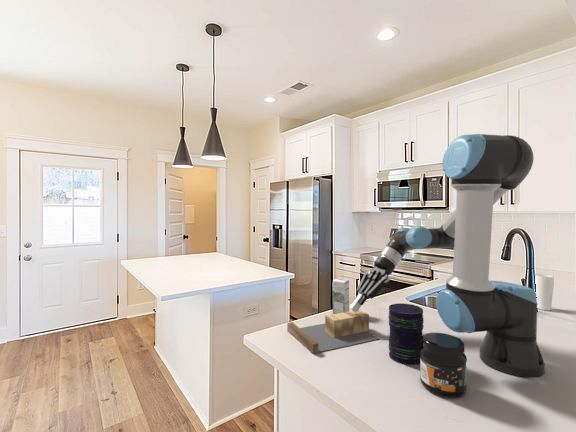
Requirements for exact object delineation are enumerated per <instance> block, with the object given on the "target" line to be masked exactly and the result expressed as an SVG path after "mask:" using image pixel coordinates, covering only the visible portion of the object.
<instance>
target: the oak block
mask: <svg viewBox="0 0 576 432" xmlns="http://www.w3.org/2000/svg"><path fill="white" fill-rule="evenodd" d="M324 324H325V332H327V333H328V334H329V335H331V336H332V337H334V338H336V337H341V336H346V335H350V334H355V333H360V332H365V331H367V332H369V331H370V314H369V313H367V312H365V311H362V310H361V309H359V310H358V311H357V313H355V312H354V311H353V310H349V311H348V312H342V313H331V314H325V316H324Z"/></svg>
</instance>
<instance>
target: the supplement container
mask: <svg viewBox="0 0 576 432" xmlns="http://www.w3.org/2000/svg"><path fill="white" fill-rule="evenodd" d="M422 345H423V346H421V348H420V364H419V365H420V367H419V368H420V370H419V373H420V375H419V380H420V383H421V385H422V386H423V387H424V388H425V389H426V390H428V391H429V392H431V393H433V394H435V395H438V396H441V397H445V398H457V397H461V396H463V395H464V394H466V392H467V361H468V358H467V356H466V353H465V341H463V340H462V339H460V337H459V338H458V337H457V336H454V335H452V334H448V333H444V332H428V333H427V332H426V333H424V334H422Z"/></svg>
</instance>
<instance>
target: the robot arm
mask: <svg viewBox="0 0 576 432" xmlns="http://www.w3.org/2000/svg"><path fill="white" fill-rule="evenodd" d="M534 158H535V157H534V152H533V149H532V147H531V145H530V144H529V143H528V142H527V141H526V140H525V139H523V138H521V137H519V136H515V135H510V134H509V135H501V134H499V135H498V134H484V133H483V134H481V133H474V134H464V135H463V134H462V135H460V136H458V137H456V138H454V139H453V140H452V141H451V142H450V144H449V145H448V146H447V147H446V150H445V151H444V154H443V157H442V165H441V166H442V171H443V172H444V175H445V176H446V177H448V179H451V182H450V184H451V185H450V186H451V187H452V188H453V189H454V190H455V191H456V202H455V204H456V207H455V209H454V211H453V212H451V214H450V216H448V218H447V219H446V220H445V221H444V223H443V224H441V226H440V227H438V228H437V227H436V228H433V227H432V228H430V227H429V228H426V227H424V226H415V227H412V228H410V229H409V228H408V227H403V226H401V227H400V228H398V229H397V231H396V232H394V235H393V236H392V237H391V239H390V240H389V241H388V242H387V244H386V245H385V247H384V248H383V249H382V251H381V252H380V253H379V256H377V258H376V260H375V261H374V262H373V264H374V265H373V267H371V269H370V270H369V271H368V270H364V271H363V276H362V278H361V280H360V282H359V284H358V286H357V288H356V292H357V293H358V294H357V295H356V296H355V298H354V301H352V304H350V305H349V309H350V310H351V311H354V312H355V313H357V311H358V310H360V309H361V307H362V306H363V305H364V304H365V302H366V301H367V300H368V299H374V297H375V296H377V295H378V294H379V293H380V291H382V289H384V287H385V286H386V285H388V284H389V283H391V279H390V278H389V276H391V275H392V274H393V272H394V271H395V269H396V267H397V266H398V265H399V263H400V262H401V260H402V259H403V258H404V256H405V255H406V253H407V252H408V251H409V252H410V251H413V250H427V249H429V250H430V249H453V263H452V264H453V265H452V275H451V276H449V278H447V279H446V280H445V281H446V283H445V289H441V290H440V291H439V292H438V293H437V294H436V297H435V304H436V310H437V313H438V315H439V318H440V319H441V321H442V322H443V324H444V326H446V327H447V328H448V329H449V330H451V331H453V332H455V333H460V334H461V333H463V334H464V333H467V334H472V333H479V332H486V333H485V335H484V338H483V340H482V343H481V346H480V347H479V358H480V360H481V361H482V363H484V364H486V365H487V366H488V367H490V368H492V369H494V370H497V371H500V372H502V373H505V374H509V375H512V376H517V377H523V378H524V377H525V378H537V377H541V376H543V375H544V374H545V372H546V368H545V366H546V365H545V362H544V358H543V355H542V353H541V350H540V348H539V344H538V340H537V335H538V334H537V329H538V328H537V327H538V326H537V325H538V323H537V322H538V321H537V320H538V309H537V305H538V303H537V298H536V292H535V289H532V288H531V287H528V286H525V285H521V284H518V283H517V284H516V283H512V282H506V281H501V280H490V278H489V276H490V275H489V274H490V261H491V244H492V226H493V215H494V214H493V211H494V205H496V203H497V202H498V201H499V200H500V199H501V198H502V197H503V196H504V195H505V194H506V193H507V192H508V191H513V190H516V188H517V187H518V186H519V185H521V183H522V182H523V181H524V180H525V179H526V178H527V177H528V175H529V173H530V172H531V169H532V167H533V164H534Z"/></svg>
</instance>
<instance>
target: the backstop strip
mask: <svg viewBox="0 0 576 432" xmlns="http://www.w3.org/2000/svg"><path fill="white" fill-rule="evenodd" d="M286 324H287V325H286V329H287V333H289V334H290V335H291V336H292V337H293V338H294V339H296V340H297V342H299V343H300V344H301V345H302V346H304V348H306V349H307V350H308V351H309V352H310V353H311V354H313V355H314V354H315V355H316V354H319V343H318V342H316V341H315V340H314V339H313V338H311V337H310V336H309V335H308V334H306V333H305V332H304V331H303V330H301V329H300V328H301V327H299V326H298V325H297V324H296V323H295V322H293V321H291V322H286Z"/></svg>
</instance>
